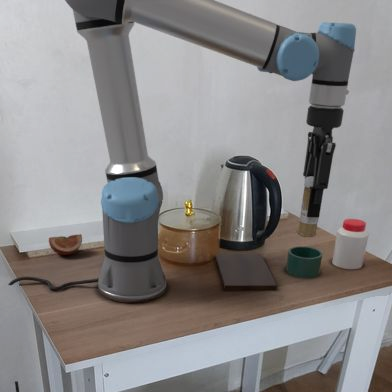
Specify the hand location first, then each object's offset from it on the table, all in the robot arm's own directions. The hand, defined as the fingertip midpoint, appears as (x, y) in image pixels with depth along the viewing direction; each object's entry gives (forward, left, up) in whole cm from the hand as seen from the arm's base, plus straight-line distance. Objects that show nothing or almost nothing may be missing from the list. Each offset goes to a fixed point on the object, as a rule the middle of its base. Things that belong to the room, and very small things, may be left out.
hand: (310, 213), depth 130 cm
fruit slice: (-59, +11, -15) cm, 62 cm away
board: (-15, -1, -15) cm, 21 cm away
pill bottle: (+13, +5, -15) cm, 21 cm away
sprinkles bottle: (0, 0, -6) cm, 6 cm away
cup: (0, 0, -15) cm, 15 cm away
